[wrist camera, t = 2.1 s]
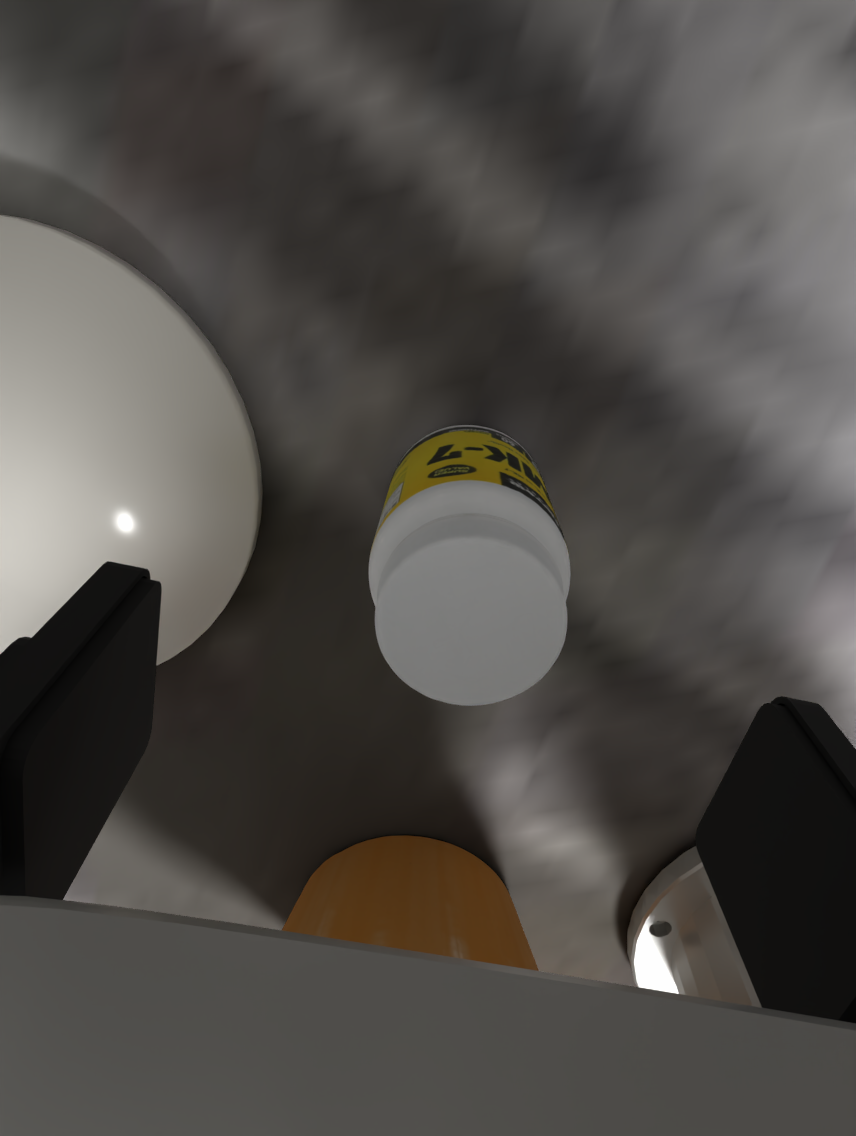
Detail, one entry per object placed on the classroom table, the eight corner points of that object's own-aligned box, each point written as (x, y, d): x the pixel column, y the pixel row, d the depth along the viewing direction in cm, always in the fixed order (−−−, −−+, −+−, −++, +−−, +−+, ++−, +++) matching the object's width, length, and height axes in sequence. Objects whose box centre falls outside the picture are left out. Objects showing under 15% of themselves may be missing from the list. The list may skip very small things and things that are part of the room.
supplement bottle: (567, 452, 22) (631, 566, 14) (509, 585, 24) (536, 749, 16) (416, 398, 21) (396, 486, 14) (369, 538, 23) (327, 686, 15)
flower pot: (325, 717, 26) (219, 1117, 14) (651, 866, 28) (793, 1313, 17) (186, 952, 31) (23, 1384, 19) (470, 1060, 34) (479, 1504, 22)
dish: (297, 281, 20) (286, 284, 18) (240, 695, 26) (227, 722, 24) (-227, 155, 19) (-283, 148, 18) (-166, 612, 25) (-204, 635, 23)
